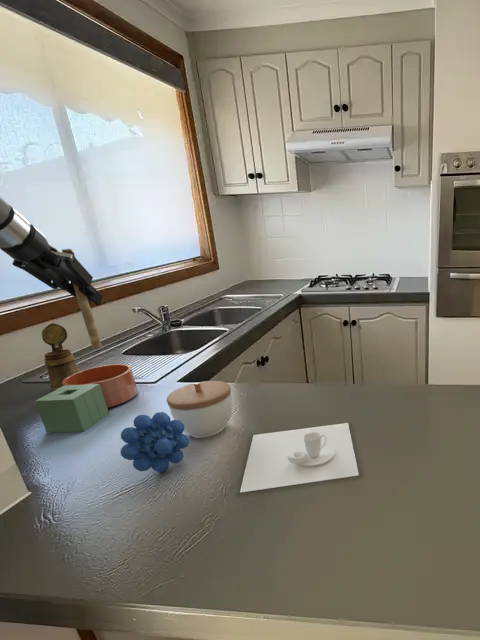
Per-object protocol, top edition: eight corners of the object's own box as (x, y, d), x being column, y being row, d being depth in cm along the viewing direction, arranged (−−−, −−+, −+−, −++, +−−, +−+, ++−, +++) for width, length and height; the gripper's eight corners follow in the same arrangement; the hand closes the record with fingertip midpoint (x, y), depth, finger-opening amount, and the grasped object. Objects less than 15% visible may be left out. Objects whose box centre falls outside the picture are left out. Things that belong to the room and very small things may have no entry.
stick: (91, 349, 105) (59, 249, 97) (96, 346, 107) (65, 248, 98) (98, 348, 105) (67, 248, 96) (104, 346, 107) (73, 248, 98)
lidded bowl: (237, 412, 100) (228, 368, 96) (238, 436, 88) (228, 388, 84) (179, 423, 96) (168, 378, 92) (173, 450, 85) (160, 400, 81)
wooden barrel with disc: (88, 376, 132) (70, 320, 126) (87, 389, 121) (67, 328, 115) (54, 383, 128) (33, 325, 122) (50, 397, 117) (27, 334, 111)
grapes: (143, 495, 71) (123, 432, 67) (125, 482, 75) (105, 422, 71) (205, 462, 80) (191, 405, 75) (186, 452, 84) (172, 397, 79)
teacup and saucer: (288, 471, 75) (284, 451, 74) (289, 448, 82) (286, 430, 81) (337, 464, 76) (334, 444, 75) (334, 442, 83) (332, 424, 82)
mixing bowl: (57, 414, 106) (46, 387, 103) (97, 390, 120) (89, 365, 117) (115, 412, 105) (107, 384, 102) (149, 387, 119) (142, 362, 116)
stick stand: (46, 433, 96) (34, 401, 93) (74, 415, 105) (64, 385, 102) (84, 431, 96) (72, 399, 93) (109, 413, 104) (99, 383, 101)
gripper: (55, 218, 85) (127, 286, 107) (-14, 223, 86) (70, 290, 108) (44, 247, 82) (120, 312, 104) (-28, 252, 83) (62, 315, 105)
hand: (94, 301), depth 106 cm, fingers closed on stick, 2 cm apart
